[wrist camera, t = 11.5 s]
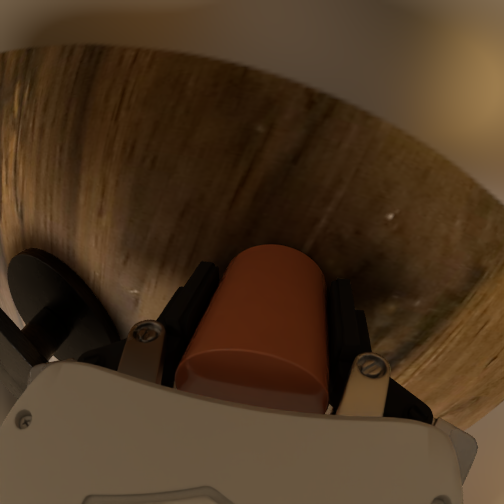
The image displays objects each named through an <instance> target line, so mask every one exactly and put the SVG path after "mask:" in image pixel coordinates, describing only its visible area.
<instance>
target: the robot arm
mask: <svg viewBox="0 0 504 504" xmlns="http://www.w3.org/2000/svg"><path fill="white" fill-rule="evenodd" d="M218 284H219V268H218V266H215V264H214V263H212V262H205V261H201V262H200V264H199V265H198V267H197V268H196V270H195V271H194V273H193V274H192V276H191V277H190V279H189V280H188V282H187V283H186V285H185V286H184V287H182V286H181V287H179V288H178V289H177V291H176V292H175V294H174V295H173V297H172V298H171V300H170V301H169V302H168V304H167V305H166V307H165V308H164V310H163V311H162V313H161V314H160V316H159V317H158V319H157V320H156V321H155V320H144V321H140V322H138V323H136V324H135V325H134V326H133V327H132V328H131V330H130V331H129V334H128V338H127V339H124V340H121V341H118V342H115V343H112V344H108V345H105V346H102V347H99V348H95V349H92V350H89V351H87V352H84V353H83V354H82V355H81V356H80V357H79V358H78V360H76V361H75V359H74V358H71V359H65V360H60V361H54V362H48V363H42V364H38V365H35V366H34V367H33V368H31V370H30V371H29V374H28V380H27V388H26V390H25V391H24V392H23V394H22V395H21V396H20V398H19V399H18V400H17V402H16V403H15V405H14V406H13V408H12V409H11V411H10V412H9V414H8V415H7V417H6V419H5V420H4V422H3V423H2V425H1V426H0V504H463V491H462V485H463V483H464V481H465V479H466V477H467V474H468V472H469V470H470V468H471V465H472V463H473V461H474V458H475V456H476V453H477V449H478V446H477V442H476V440H475V438H473V437H472V436H471V435H469V434H468V433H466V432H464V431H462V430H460V429H459V428H457V427H455V426H453V425H452V424H450V423H448V422H446V421H445V420H443V419H441V418H439V417H438V418H437V419H435V418H433V414H432V411H431V409H430V408H429V407H428V406H427V405H426V404H425V403H424V402H422V401H421V400H420V399H418V398H417V397H416V396H414V395H413V394H412V393H410V392H409V391H408V390H406V389H405V388H404V387H402V386H401V385H400V384H398V383H397V382H396V381H394V380H393V379H392V378H390V365H389V363H388V361H387V360H386V359H385V358H384V357H383V356H381V355H380V354H377V353H374V352H372V350H371V345H370V339H369V333H368V328H367V322H366V317H365V313H364V311H363V310H355V306H354V300H353V294H352V289H351V283H350V280H349V279H341V278H337V279H336V281H332V282H331V286H330V291H329V295H328V300H327V303H328V327H329V404H330V405H331V406H332V410H331V413H330V415H327V414H314V413H303V412H294V411H285V410H278V409H270V408H264V407H257V406H251V405H245V404H240V403H234V402H229V401H224V400H219V399H214V398H210V397H205V396H201V395H197V394H193V393H189V392H185V391H181V390H177V389H176V385H175V371H176V368H177V366H178V364H179V362H180V360H181V358H182V356H183V354H184V352H185V350H186V348H187V346H188V344H189V342H190V340H191V338H192V336H193V334H194V332H195V330H196V328H197V326H198V324H199V322H200V320H201V318H202V316H203V314H204V312H205V310H206V308H207V306H208V304H209V302H210V300H211V298H212V296H213V294H214V292H215V290H216V288H217V286H218Z"/></svg>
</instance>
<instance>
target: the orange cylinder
mask: <svg viewBox="0 0 504 504" xmlns="http://www.w3.org/2000/svg"><path fill="white" fill-rule="evenodd" d="M175 385H176V388H177V390H181V391H185V392H189V393H193V394H197V395H201V396H205V397H210V398H214V399H219V400H224V401H229V402H234V403H240V404H245V405H251V406H257V407H264V408H270V409H278V410H285V411H294V412H303V413H314V414H325V412H326V411H327V408H328V405H329V327H328V303H327V287H326V281H325V278H324V275H323V273H322V272H321V270H320V268H319V267H318V266H317V264H316V263H315V262H314V261H313V260H312V259H311V258H309V257H308V256H307V255H305V254H304V253H302V252H300V251H298V250H296V249H294V248H291V247H287V246H283V245H276V244H266V245H259V246H255V247H252V248H249V249H247V250H245V251H243V252H241V253H240V254H238V255H237V256H236V257H235V258H234V259H233V260H232V261H231V262H230V263H229V265H228V266H227V268H226V270H225V272H224V274H223V276H222V278H221V280H220V282H219V284H218V286H217V288H216V290H215V292H214V294H213V296H212V298H211V300H210V302H209V304H208V306H207V308H206V310H205V312H204V314H203V316H202V318H201V320H200V322H199V324H198V326H197V328H196V330H195V332H194V334H193V336H192V338H191V340H190V342H189V344H188V346H187V348H186V350H185V352H184V354H183V356H182V358H181V360H180V362H179V364H178V366H177V368H176V371H175Z"/></svg>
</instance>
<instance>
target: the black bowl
mask: <svg viewBox="0 0 504 504" xmlns="http://www.w3.org/2000/svg"><path fill="white" fill-rule="evenodd" d="M8 284H9V288H10V292H11V295H12V298H13V301H14V303H15V306H16V308H17V310H18V312H19V314H20V315H21V317H22V319H23V321H24V322H25V324H26V326H25V327H24V328H23V329H22V330H20V329H19V328H18V327H17V326H16V324H15V323H14V322H13V321H12V320H11V319H10V318H9V317H8V316H7V315H6V313H5V312H4V311H3V310H2V309H1V308H0V381H1V382H2V384H3V385H4V386H5V387H6V388H7V389H8V390H9V391H10V392H11V393H12V394H13V395H14V396H15V397H16V398H17V399H19V398H20V396H21V395H22V394H23V392H24V391H25V390H26V388H27V380H28V374H29V371H30V370H31V368H33V367H34V366H35V365H38V364H42V363H48V361H49V359H50V358H51V357H52V356H55V357H56V358H57V359H58V360H65V359H71V358H74V359H75V361H76V360H78V358H79V357H80V356H81V355H82V354H83V353H84V352H87V351H89V350H92V349H95V348H99V347H102V346H105V345H108V344H112V343H115V342H118V341H120V338H119V335H118V332H117V330H116V327H115V326H114V324H113V322H112V320H111V318H110V316H109V315H108V313H107V311H106V310H105V308H104V307H103V305H102V304H101V302H100V301H99V299H98V298H97V297H96V296H95V294H94V293H93V292H92V290H91V289H90V288H89V287H88V286H87V285H86V284H85V282H84V281H83V280H82V279H81V278H80V277H79V276H78V275H77V274H76V273H75V272H74V271H73V270H72V269H70V268H69V267H68V266H67V265H66V264H65V263H63V262H62V261H61V260H59V259H58V258H56V257H55V256H53V255H52V254H50V253H48V252H46V251H44V250H40V249H37V248H28V249H25V250H23V251H21V252H20V253H19V254H17V255H16V256H15V257H13V258H12V260H11V261H10V263H9V267H8Z"/></svg>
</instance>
